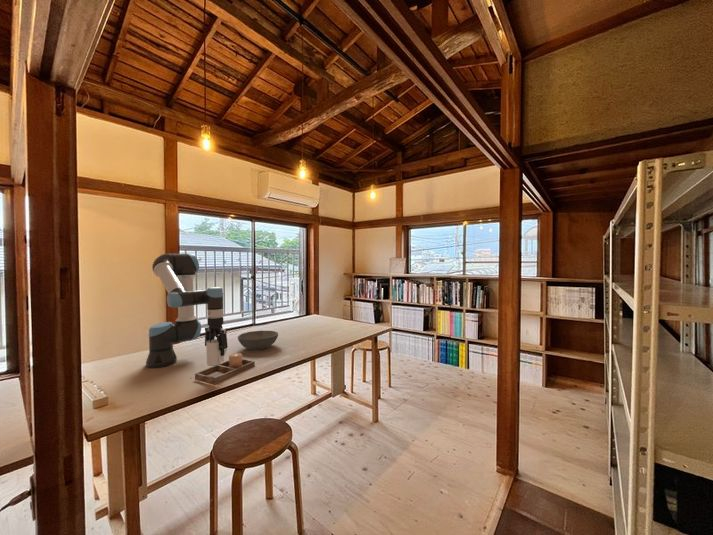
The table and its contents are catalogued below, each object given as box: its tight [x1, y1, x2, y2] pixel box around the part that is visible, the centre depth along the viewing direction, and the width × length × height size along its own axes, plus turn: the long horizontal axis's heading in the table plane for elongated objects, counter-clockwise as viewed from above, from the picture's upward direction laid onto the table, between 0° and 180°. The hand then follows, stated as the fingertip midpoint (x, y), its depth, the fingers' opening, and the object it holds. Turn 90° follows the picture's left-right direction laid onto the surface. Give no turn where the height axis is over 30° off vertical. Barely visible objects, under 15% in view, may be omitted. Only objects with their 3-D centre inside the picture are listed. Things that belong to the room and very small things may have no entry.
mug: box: [205, 338, 228, 367], centre depth 153 cm, size 10×7×12 cm, turn 135°
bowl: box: [237, 330, 279, 351], centre depth 201 cm, size 26×26×10 cm
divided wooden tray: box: [194, 358, 256, 386], centre depth 159 cm, size 15×26×3 cm, turn 155°
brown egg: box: [228, 352, 243, 369], centre depth 165 cm, size 7×7×7 cm
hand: (216, 360), depth 153 cm, fingers closed on mug, 7 cm apart
